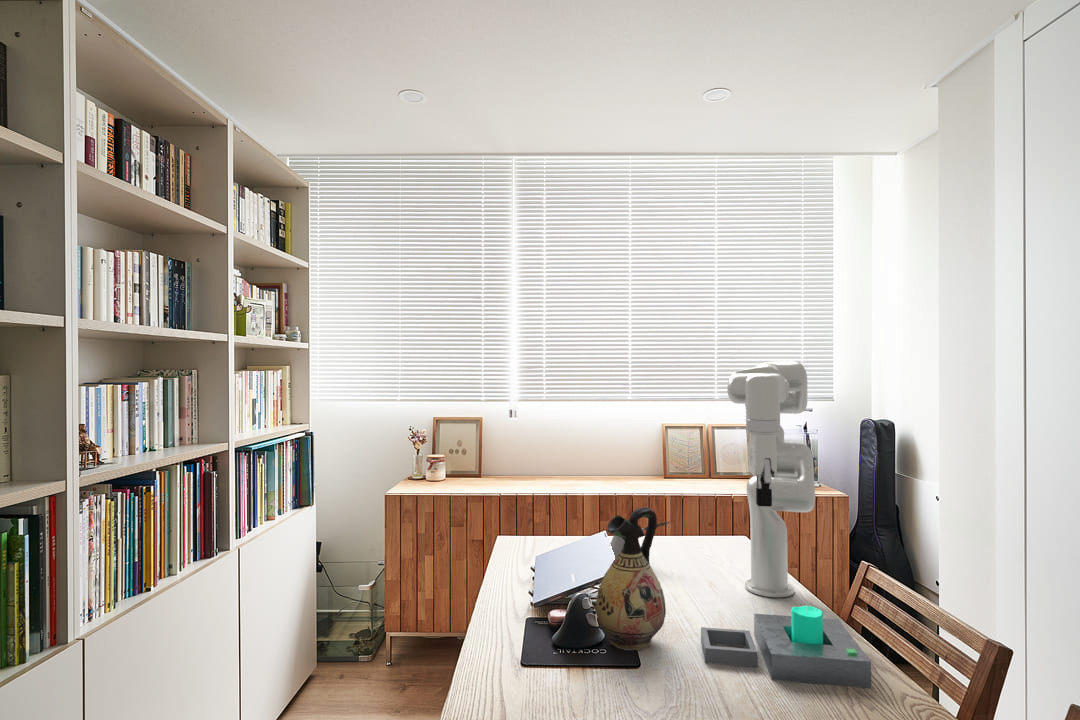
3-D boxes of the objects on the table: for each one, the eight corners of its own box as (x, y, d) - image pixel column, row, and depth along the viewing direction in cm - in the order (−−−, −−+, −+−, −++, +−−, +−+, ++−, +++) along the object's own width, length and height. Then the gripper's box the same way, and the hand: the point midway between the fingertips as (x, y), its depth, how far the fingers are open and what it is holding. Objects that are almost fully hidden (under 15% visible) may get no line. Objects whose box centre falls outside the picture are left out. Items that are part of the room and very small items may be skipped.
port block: (754, 635, 136) (754, 611, 136) (838, 641, 133) (838, 616, 133) (771, 679, 117) (771, 651, 117) (871, 688, 113) (870, 659, 113)
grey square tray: (701, 640, 134) (700, 627, 134) (749, 644, 132) (749, 630, 132) (705, 662, 124) (705, 648, 124) (757, 667, 122) (757, 652, 122)
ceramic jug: (620, 665, 123) (619, 518, 123) (583, 635, 137) (583, 504, 137) (686, 648, 130) (685, 510, 131) (645, 622, 144) (644, 497, 145)
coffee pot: (600, 563, 189) (600, 515, 189) (618, 554, 198) (617, 509, 199) (662, 576, 176) (662, 525, 177) (678, 566, 186) (677, 518, 186)
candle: (822, 657, 126) (821, 600, 126) (824, 670, 120) (823, 610, 120) (791, 652, 128) (790, 596, 128) (792, 665, 122) (791, 606, 123)
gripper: (741, 424, 148) (742, 498, 147) (751, 429, 133) (752, 512, 133) (773, 424, 146) (774, 499, 146) (787, 430, 132) (788, 513, 131)
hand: (764, 505), depth 139 cm, fingers closed
